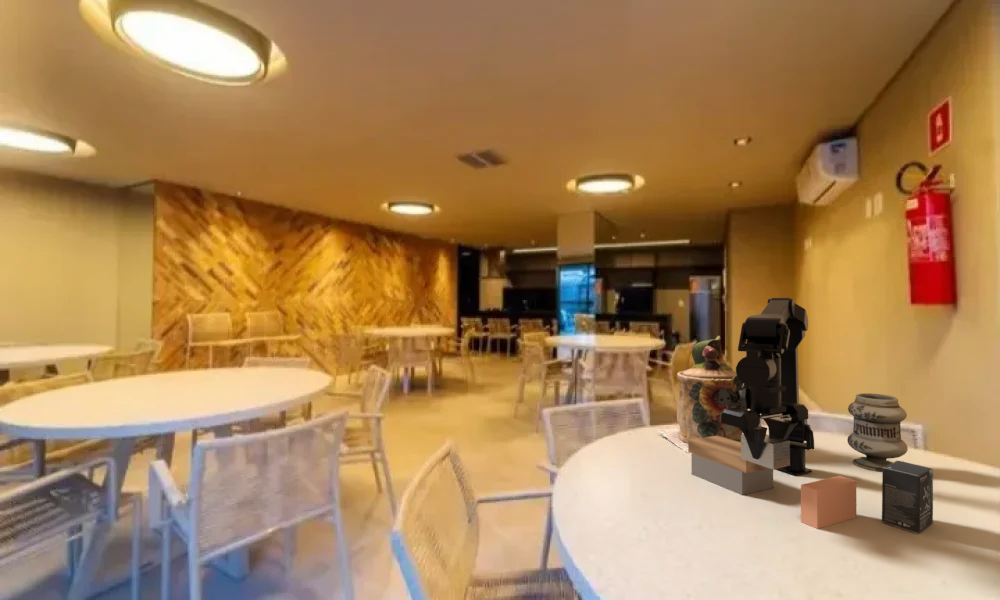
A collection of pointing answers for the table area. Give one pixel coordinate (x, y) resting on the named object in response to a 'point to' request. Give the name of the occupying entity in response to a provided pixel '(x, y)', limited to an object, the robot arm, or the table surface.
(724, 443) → the slab
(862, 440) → the apothecary jar
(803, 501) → the end stop
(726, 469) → the plinth
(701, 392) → the cookie jar
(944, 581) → the table surface
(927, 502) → the box
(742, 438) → the support block
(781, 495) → the table surface
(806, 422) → the robot arm
